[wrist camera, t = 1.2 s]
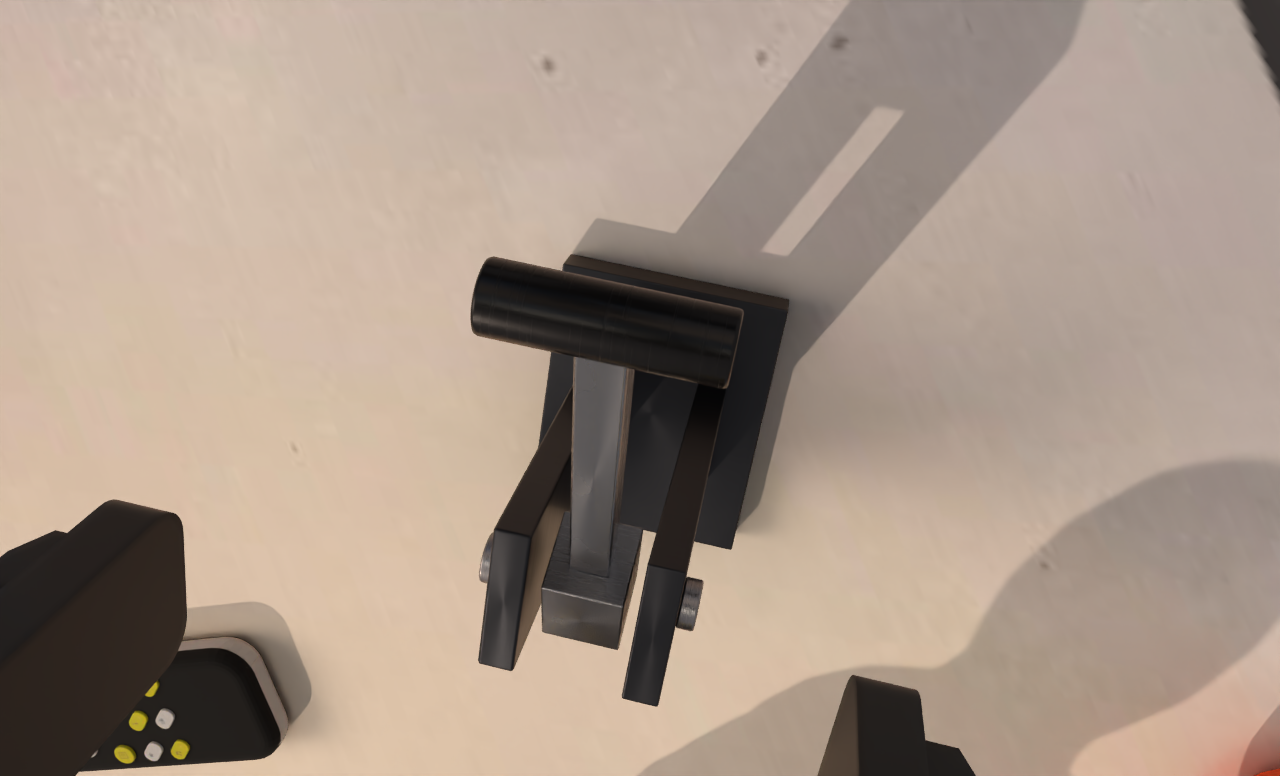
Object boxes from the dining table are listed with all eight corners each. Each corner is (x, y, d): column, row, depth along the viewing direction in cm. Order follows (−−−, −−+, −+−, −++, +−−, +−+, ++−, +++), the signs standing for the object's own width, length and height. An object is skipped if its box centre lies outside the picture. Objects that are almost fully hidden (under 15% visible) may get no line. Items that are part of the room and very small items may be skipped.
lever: (498, 223, 20) (459, 314, 19) (752, 275, 20) (731, 373, 19) (517, 547, 31) (493, 621, 30) (683, 585, 31) (667, 662, 29)
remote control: (302, 735, 50) (282, 766, 48) (77, 751, 53) (50, 781, 51) (255, 627, 48) (233, 656, 46) (23, 651, 51) (-7, 678, 49)
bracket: (570, 253, 38) (445, 418, 25) (789, 299, 37) (770, 490, 25) (537, 489, 42) (416, 729, 30) (733, 533, 42) (693, 797, 29)
